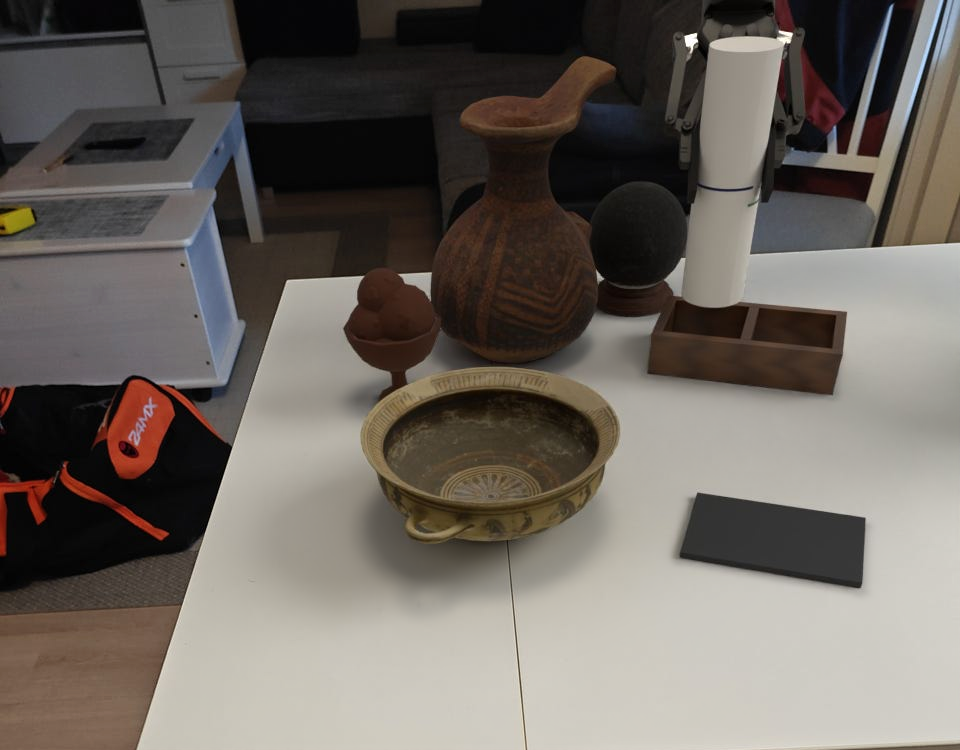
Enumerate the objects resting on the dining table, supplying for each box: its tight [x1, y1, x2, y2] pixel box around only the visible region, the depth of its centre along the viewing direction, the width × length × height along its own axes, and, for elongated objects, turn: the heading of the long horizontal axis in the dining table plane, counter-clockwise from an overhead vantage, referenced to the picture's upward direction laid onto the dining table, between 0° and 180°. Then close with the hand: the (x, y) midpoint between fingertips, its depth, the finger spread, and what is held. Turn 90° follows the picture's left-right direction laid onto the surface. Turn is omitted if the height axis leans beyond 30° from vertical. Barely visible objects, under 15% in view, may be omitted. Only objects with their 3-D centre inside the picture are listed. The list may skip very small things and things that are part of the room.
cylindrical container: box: [681, 36, 784, 308], centre depth 95 cm, size 7×7×25 cm
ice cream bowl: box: [342, 267, 441, 403], centre depth 100 cm, size 11×11×15 cm
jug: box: [429, 56, 617, 364], centre depth 105 cm, size 22×22×30 cm
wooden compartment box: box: [647, 295, 848, 395], centre depth 106 cm, size 22×11×5 cm, turn 71°
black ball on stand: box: [589, 180, 688, 317], centre depth 117 cm, size 13×13×15 cm
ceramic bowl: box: [360, 366, 621, 545], centre depth 85 cm, size 30×24×10 cm
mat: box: [679, 492, 867, 588], centre depth 83 cm, size 16×10×1 cm, turn 71°
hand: (729, 196), depth 93 cm, fingers closed on cylindrical container, 7 cm apart
